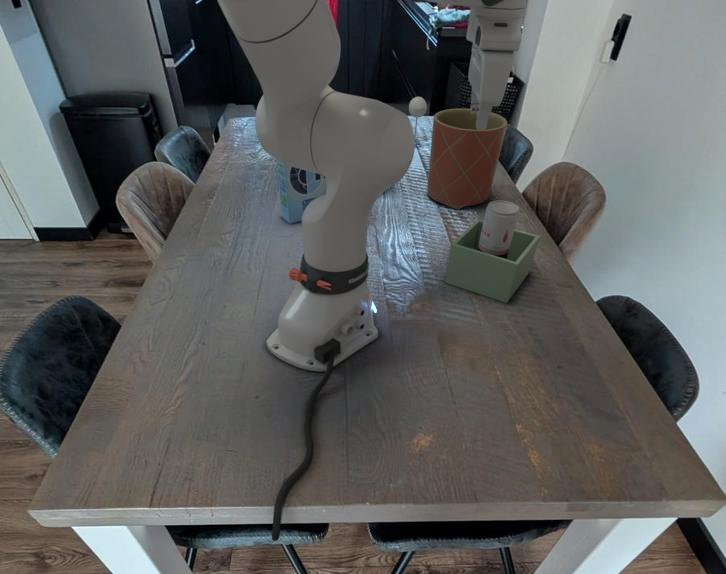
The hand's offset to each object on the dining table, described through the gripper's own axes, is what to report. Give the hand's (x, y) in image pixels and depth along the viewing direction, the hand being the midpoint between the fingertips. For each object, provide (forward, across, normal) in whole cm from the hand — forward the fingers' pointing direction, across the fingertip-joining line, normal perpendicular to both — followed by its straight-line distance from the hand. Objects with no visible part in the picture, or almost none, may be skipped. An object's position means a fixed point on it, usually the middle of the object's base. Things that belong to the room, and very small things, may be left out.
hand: (477, 121), depth 90 cm
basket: (+30, +5, +8) cm, 31 cm away
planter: (+30, -39, +5) cm, 49 cm away
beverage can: (+29, +5, +8) cm, 30 cm away
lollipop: (+30, -80, -7) cm, 85 cm away
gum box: (+30, -24, -34) cm, 51 cm away
